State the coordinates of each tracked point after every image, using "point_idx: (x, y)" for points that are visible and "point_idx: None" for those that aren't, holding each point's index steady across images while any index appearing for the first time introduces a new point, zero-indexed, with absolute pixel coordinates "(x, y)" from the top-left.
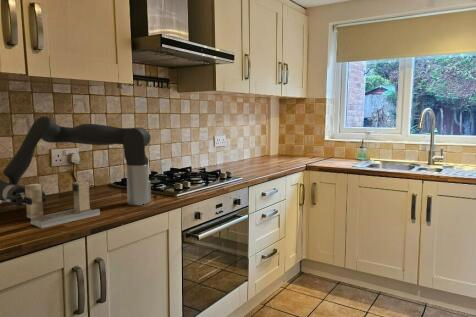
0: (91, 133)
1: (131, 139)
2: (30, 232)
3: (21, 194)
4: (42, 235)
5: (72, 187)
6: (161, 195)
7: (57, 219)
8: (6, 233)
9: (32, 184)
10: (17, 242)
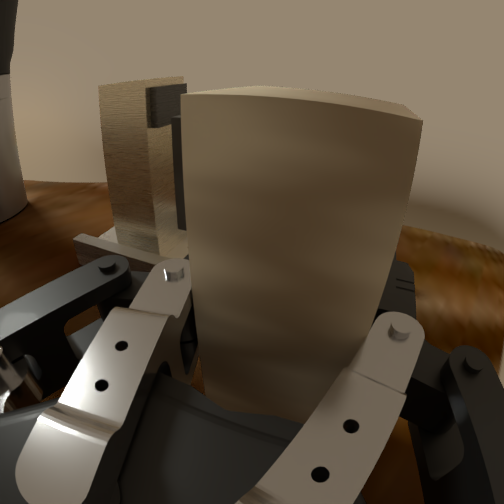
0: None
1: None
2: (432, 281)
3: (362, 451)
4: (417, 242)
5: (158, 108)
6: None
7: None
8: (499, 337)
9: (280, 95)
10: (483, 255)
